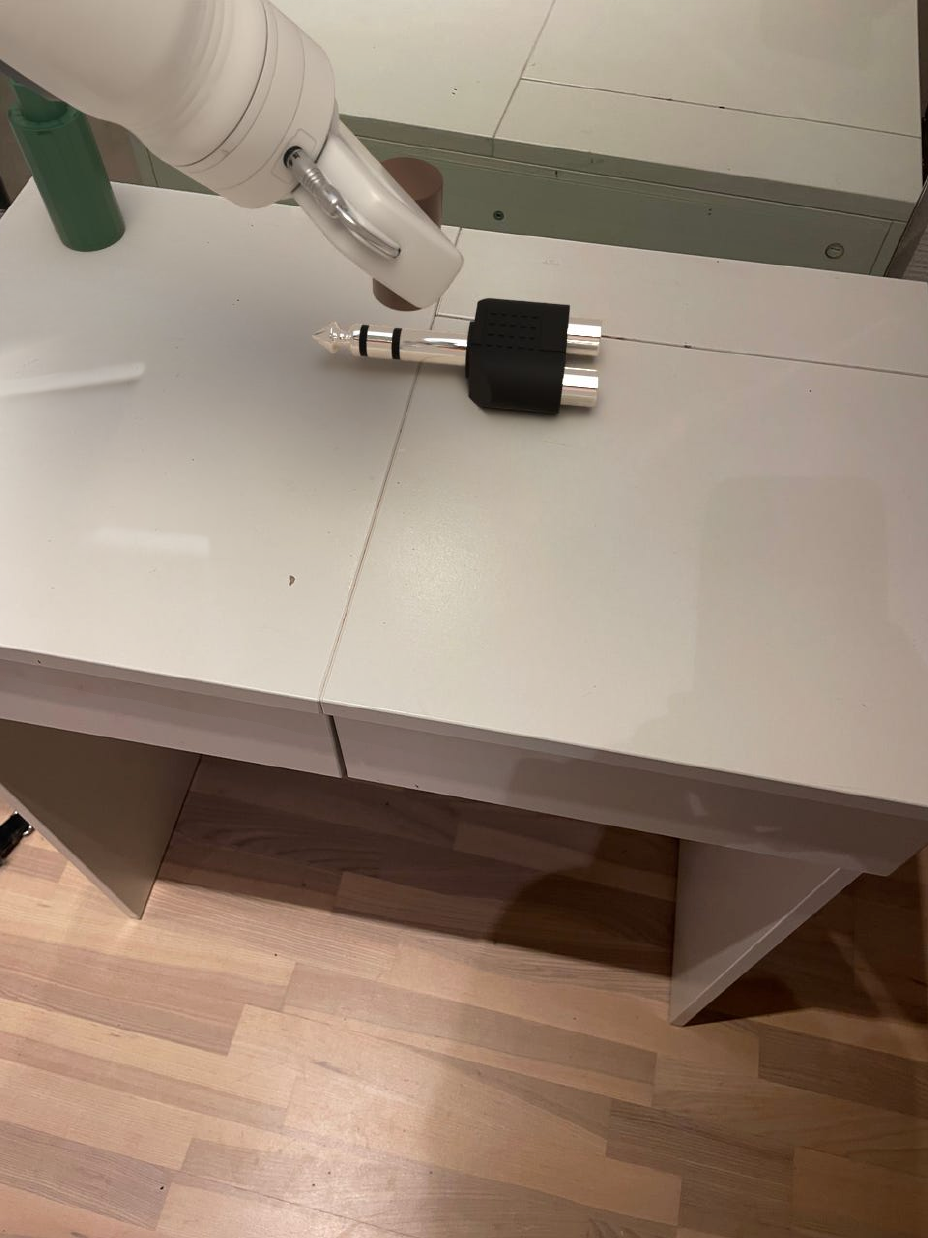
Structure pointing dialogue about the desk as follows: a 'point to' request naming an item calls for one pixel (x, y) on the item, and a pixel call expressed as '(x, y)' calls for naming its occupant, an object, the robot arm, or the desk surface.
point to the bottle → (66, 169)
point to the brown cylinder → (427, 193)
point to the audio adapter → (495, 353)
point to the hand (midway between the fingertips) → (414, 228)
